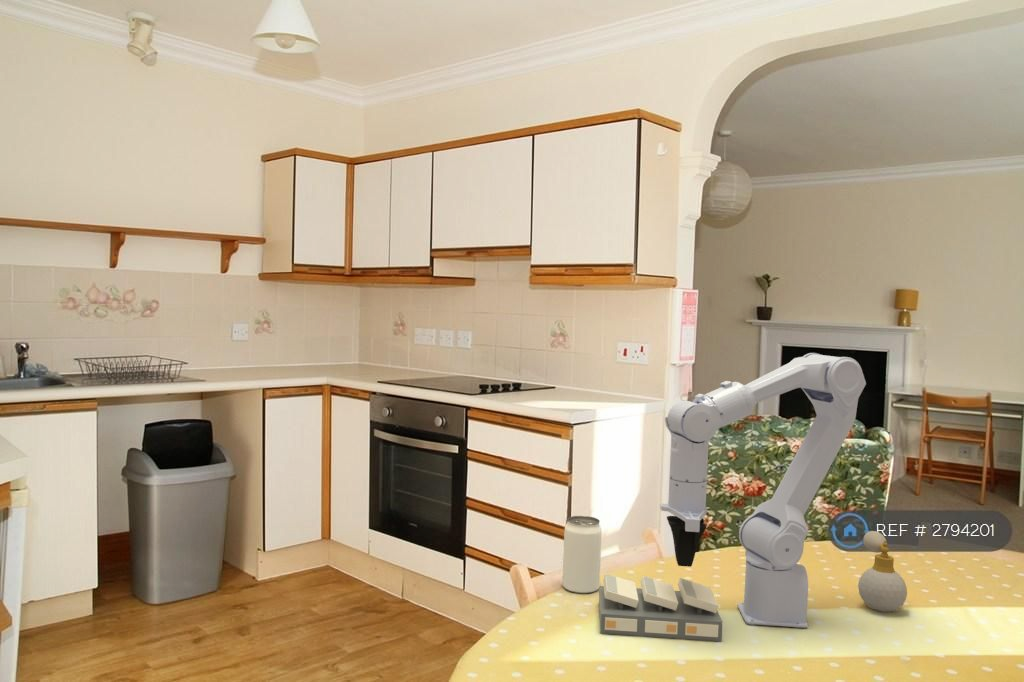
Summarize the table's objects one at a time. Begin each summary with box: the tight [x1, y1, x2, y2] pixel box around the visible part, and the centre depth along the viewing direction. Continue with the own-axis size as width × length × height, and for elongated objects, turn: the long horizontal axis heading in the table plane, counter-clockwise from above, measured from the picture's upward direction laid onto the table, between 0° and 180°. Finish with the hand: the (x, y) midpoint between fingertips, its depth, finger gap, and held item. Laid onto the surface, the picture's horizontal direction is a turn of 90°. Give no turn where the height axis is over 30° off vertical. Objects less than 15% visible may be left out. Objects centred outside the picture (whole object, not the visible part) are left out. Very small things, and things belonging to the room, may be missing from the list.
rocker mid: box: [640, 575, 678, 610], centre depth 128 cm, size 5×8×1 cm, turn 175°
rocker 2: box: [677, 577, 719, 613], centre depth 127 cm, size 5×8×1 cm, turn 175°
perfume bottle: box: [857, 530, 908, 613], centre depth 137 cm, size 8×10×12 cm
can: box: [562, 515, 603, 595], centre depth 141 cm, size 6×6×12 cm
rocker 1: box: [602, 573, 639, 608], centre depth 128 cm, size 5×8×1 cm, turn 175°
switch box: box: [598, 585, 723, 642], centre depth 128 cm, size 18×12×4 cm
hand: (684, 564), depth 127 cm, fingers closed
